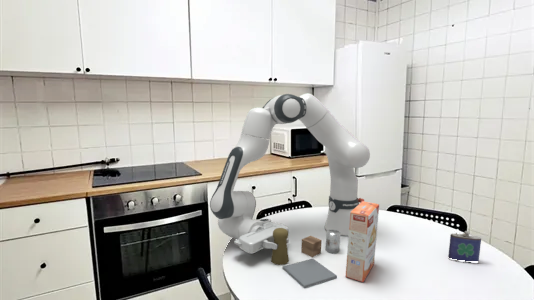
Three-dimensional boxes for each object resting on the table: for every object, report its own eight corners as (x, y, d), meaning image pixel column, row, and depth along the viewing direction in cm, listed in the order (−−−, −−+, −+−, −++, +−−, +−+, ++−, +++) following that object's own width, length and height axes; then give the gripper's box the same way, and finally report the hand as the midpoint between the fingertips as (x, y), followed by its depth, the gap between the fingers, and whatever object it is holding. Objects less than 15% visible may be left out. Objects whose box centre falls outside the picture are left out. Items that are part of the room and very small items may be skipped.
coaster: (312, 260, 103) (312, 258, 103) (336, 278, 92) (336, 275, 92) (282, 268, 97) (282, 266, 97) (304, 288, 87) (304, 285, 87)
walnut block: (310, 248, 112) (310, 235, 111) (321, 253, 109) (321, 239, 108) (301, 252, 109) (301, 239, 108) (312, 257, 105) (312, 243, 104)
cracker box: (364, 283, 90) (369, 215, 87) (344, 277, 93) (348, 211, 90) (375, 264, 101) (380, 203, 99) (357, 259, 105) (361, 200, 102)
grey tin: (333, 246, 114) (333, 228, 113) (342, 252, 110) (343, 233, 109) (322, 249, 112) (323, 230, 111) (331, 254, 107) (332, 235, 106)
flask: (477, 260, 105) (480, 231, 104) (480, 265, 102) (483, 234, 101) (447, 257, 108) (450, 228, 106) (449, 260, 105) (452, 231, 103)
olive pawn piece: (287, 266, 99) (288, 233, 97) (269, 263, 100) (270, 231, 99) (289, 257, 105) (290, 226, 103) (272, 255, 106) (273, 225, 105)
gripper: (231, 232, 102) (261, 245, 93) (270, 217, 117) (300, 226, 108) (231, 250, 103) (261, 264, 94) (270, 232, 118) (299, 243, 109)
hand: (282, 244), depth 101 cm, fingers closed on olive pawn piece, 4 cm apart
